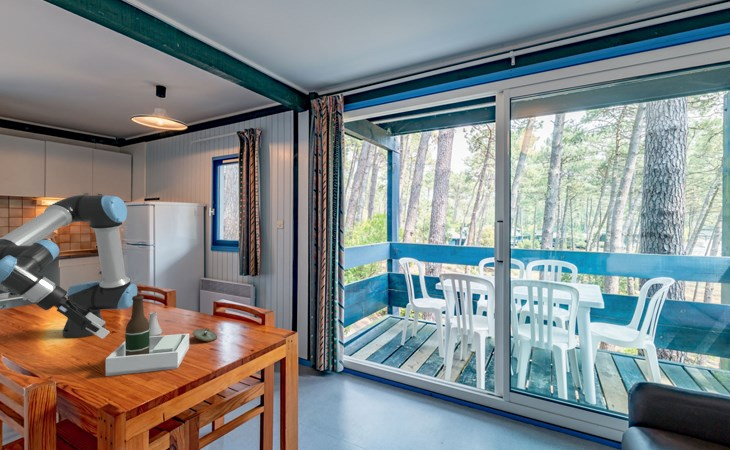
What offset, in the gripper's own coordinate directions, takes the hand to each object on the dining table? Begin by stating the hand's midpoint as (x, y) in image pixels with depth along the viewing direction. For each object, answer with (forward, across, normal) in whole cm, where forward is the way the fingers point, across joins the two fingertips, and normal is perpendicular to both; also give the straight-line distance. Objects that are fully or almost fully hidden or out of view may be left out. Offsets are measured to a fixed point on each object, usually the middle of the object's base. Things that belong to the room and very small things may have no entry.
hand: (104, 330), depth 118 cm
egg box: (+23, +4, +4) cm, 24 cm away
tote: (+20, +2, 0) cm, 20 cm away
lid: (+36, -8, +16) cm, 40 cm away
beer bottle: (+16, 0, -2) cm, 17 cm away
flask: (+24, -30, +4) cm, 38 cm away
